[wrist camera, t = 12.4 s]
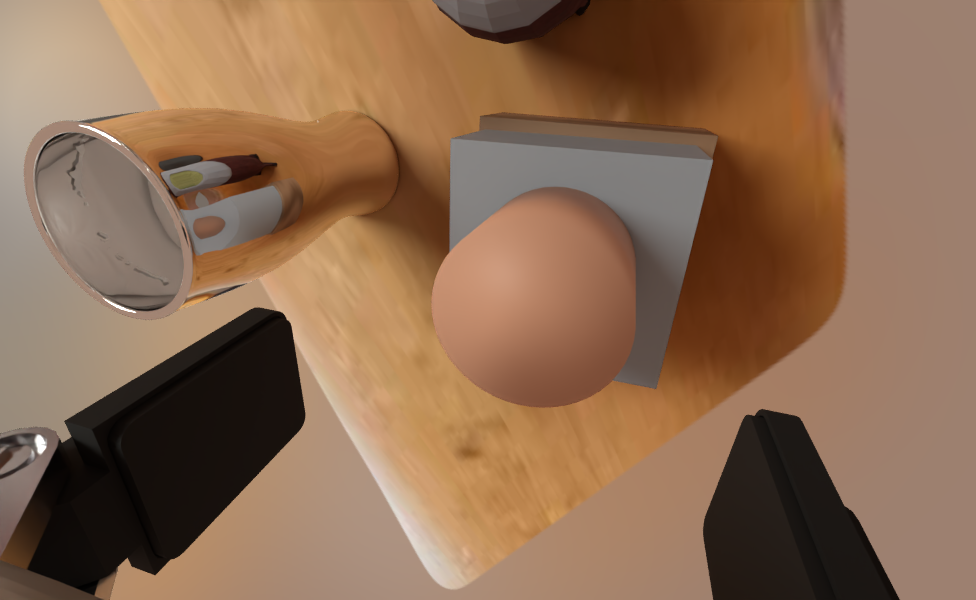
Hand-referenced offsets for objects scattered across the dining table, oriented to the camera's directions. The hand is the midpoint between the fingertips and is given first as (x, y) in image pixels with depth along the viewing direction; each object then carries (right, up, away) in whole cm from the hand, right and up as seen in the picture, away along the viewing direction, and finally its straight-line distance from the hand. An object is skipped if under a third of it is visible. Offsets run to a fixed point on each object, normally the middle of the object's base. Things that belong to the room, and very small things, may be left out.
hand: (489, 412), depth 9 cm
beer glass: (-8, +11, +19) cm, 23 cm away
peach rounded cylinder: (+3, +4, +8) cm, 9 cm away
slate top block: (+4, +5, +12) cm, 14 cm away
